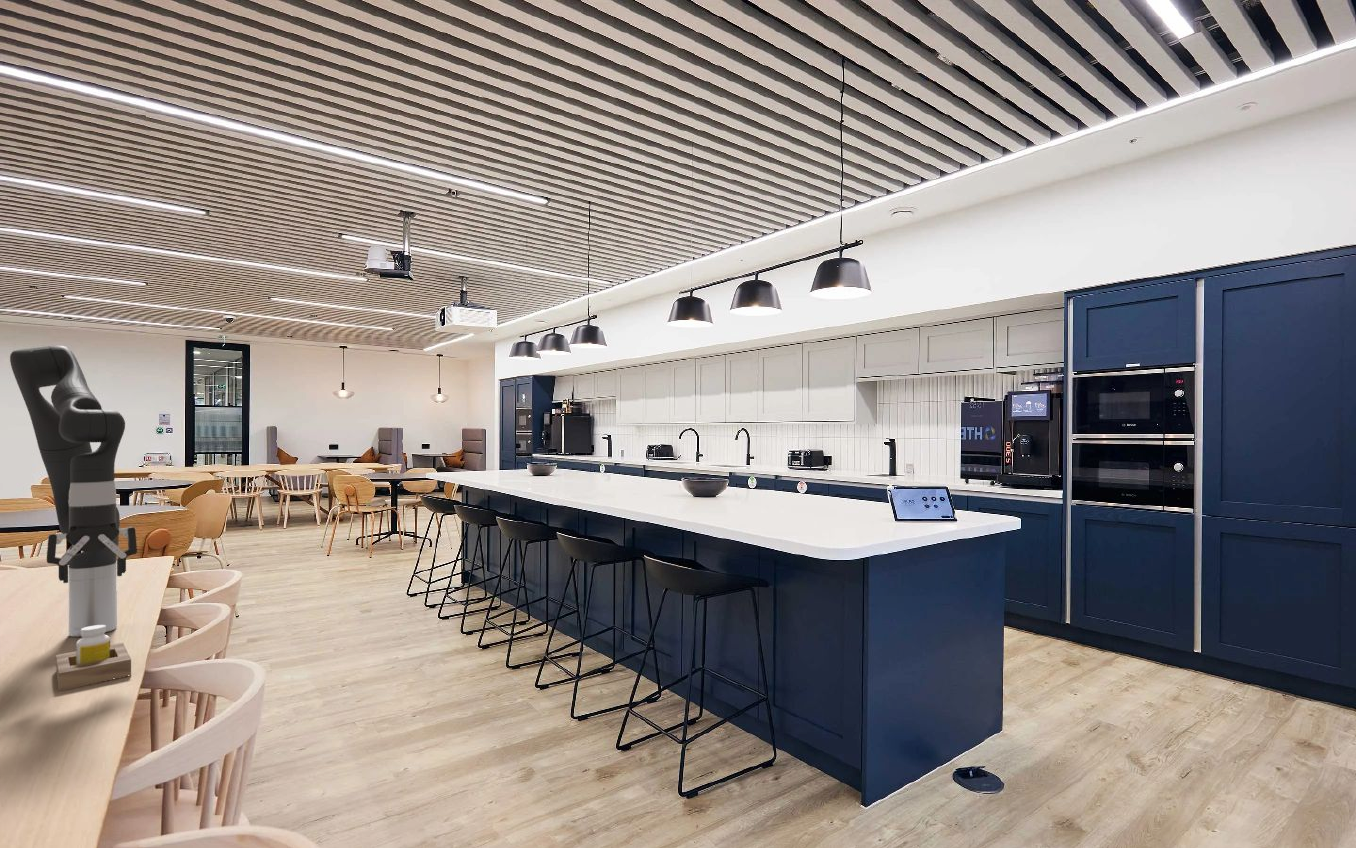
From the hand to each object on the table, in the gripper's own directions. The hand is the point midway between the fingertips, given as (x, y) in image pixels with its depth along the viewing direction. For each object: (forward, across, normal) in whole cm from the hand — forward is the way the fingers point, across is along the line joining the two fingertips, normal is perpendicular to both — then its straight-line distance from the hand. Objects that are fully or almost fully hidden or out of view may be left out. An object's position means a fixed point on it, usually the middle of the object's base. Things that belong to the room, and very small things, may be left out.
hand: (93, 579), depth 138 cm
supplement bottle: (+20, 0, 0) cm, 20 cm away
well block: (+20, 0, 0) cm, 20 cm away
